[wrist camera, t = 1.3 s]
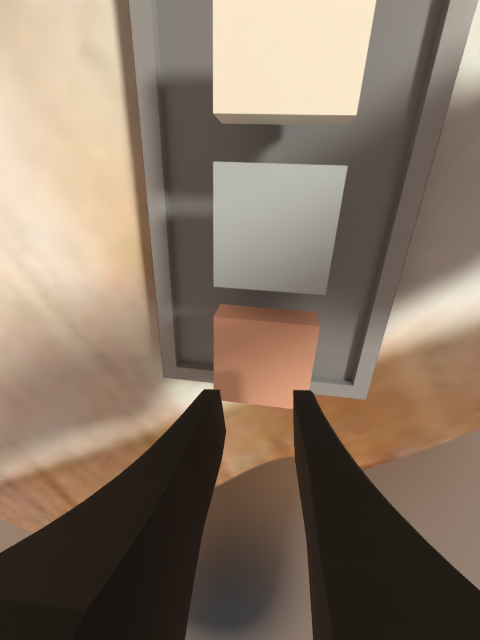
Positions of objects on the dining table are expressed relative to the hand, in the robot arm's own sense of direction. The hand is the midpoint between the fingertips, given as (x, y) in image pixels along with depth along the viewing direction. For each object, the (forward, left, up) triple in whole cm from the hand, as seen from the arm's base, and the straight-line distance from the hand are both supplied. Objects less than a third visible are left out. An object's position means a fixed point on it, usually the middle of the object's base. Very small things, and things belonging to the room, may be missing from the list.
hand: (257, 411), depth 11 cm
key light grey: (0, -6, -7) cm, 9 cm away
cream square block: (0, -12, -7) cm, 14 cm away
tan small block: (0, 0, -7) cm, 7 cm away
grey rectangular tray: (0, -6, -9) cm, 11 cm away
